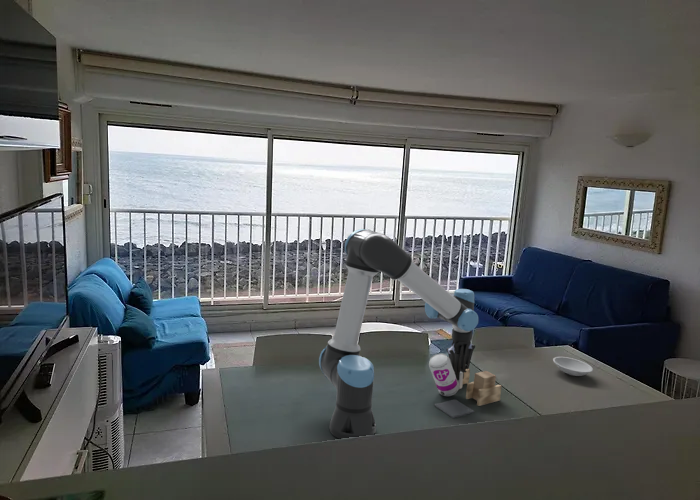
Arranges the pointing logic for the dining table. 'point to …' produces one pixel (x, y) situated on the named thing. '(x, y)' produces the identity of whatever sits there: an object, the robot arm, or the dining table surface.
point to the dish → (572, 366)
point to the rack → (482, 387)
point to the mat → (454, 408)
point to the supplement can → (443, 374)
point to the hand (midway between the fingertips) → (458, 387)
